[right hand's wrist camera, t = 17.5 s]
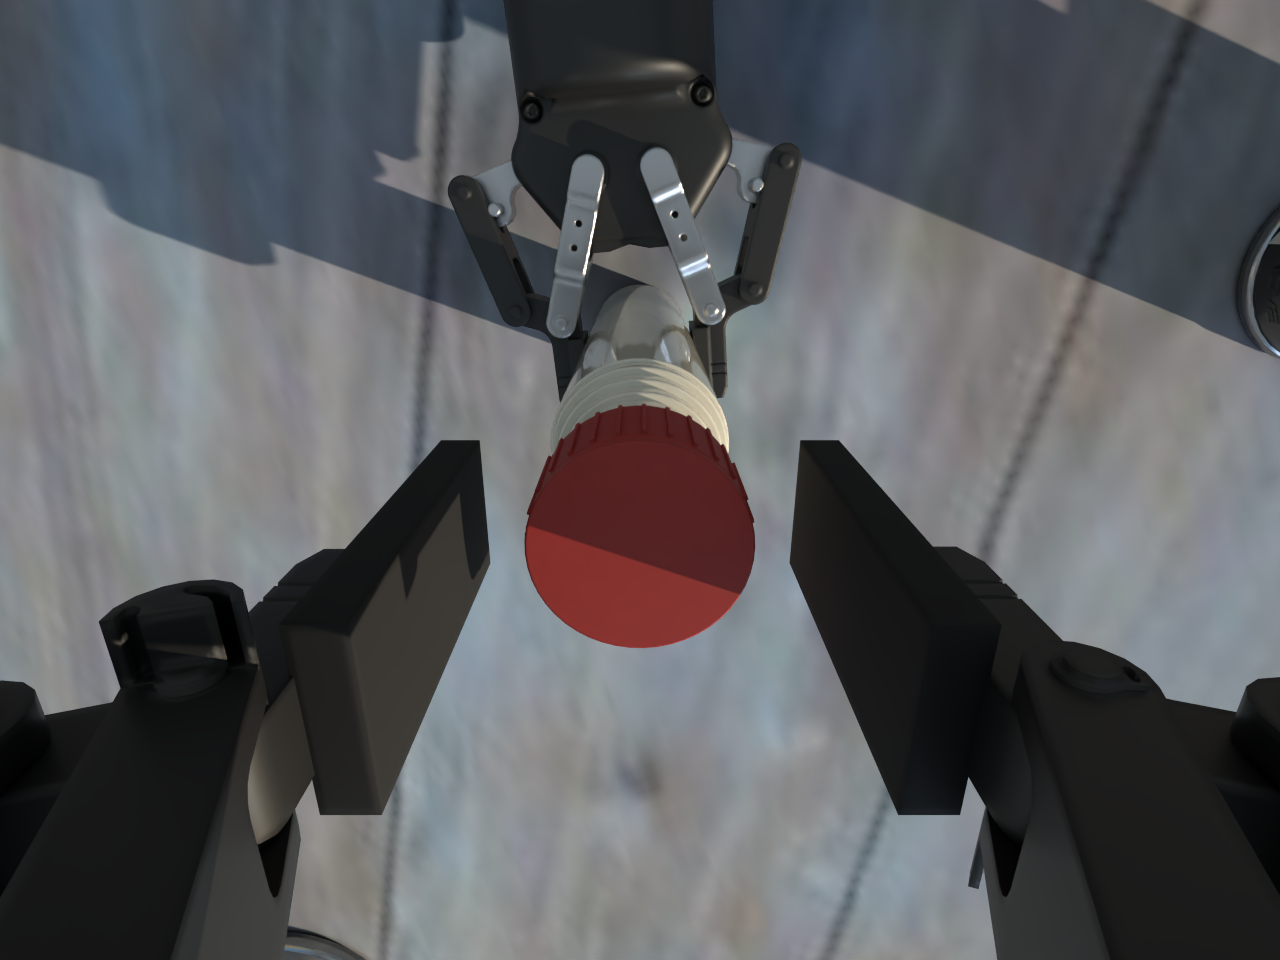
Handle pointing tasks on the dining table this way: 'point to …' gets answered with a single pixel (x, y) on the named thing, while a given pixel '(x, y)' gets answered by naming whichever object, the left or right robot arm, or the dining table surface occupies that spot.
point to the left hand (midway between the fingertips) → (644, 411)
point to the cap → (639, 528)
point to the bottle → (639, 365)
